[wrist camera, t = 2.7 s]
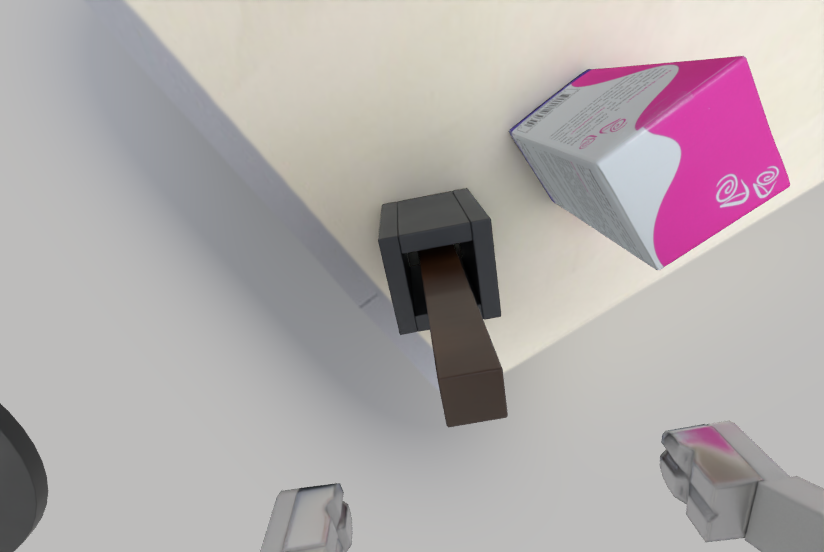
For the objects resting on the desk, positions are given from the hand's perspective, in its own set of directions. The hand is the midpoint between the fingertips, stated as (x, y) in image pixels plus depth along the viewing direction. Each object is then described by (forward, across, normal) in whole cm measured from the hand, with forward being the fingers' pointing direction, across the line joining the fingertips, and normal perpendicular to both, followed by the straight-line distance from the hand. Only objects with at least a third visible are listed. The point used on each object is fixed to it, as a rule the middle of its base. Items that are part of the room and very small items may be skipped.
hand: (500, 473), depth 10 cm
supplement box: (+19, -9, -4) cm, 22 cm away
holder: (+19, 0, 0) cm, 19 cm away
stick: (+19, 0, 0) cm, 19 cm away
